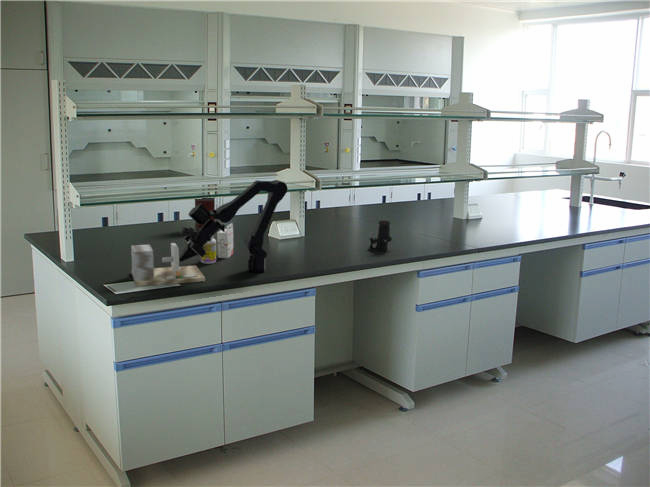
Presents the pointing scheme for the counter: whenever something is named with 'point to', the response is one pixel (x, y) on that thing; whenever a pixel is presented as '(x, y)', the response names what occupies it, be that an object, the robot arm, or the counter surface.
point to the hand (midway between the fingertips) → (179, 260)
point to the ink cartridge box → (225, 242)
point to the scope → (381, 237)
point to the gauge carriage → (173, 259)
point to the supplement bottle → (209, 252)
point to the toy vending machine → (208, 204)
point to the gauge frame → (158, 270)
